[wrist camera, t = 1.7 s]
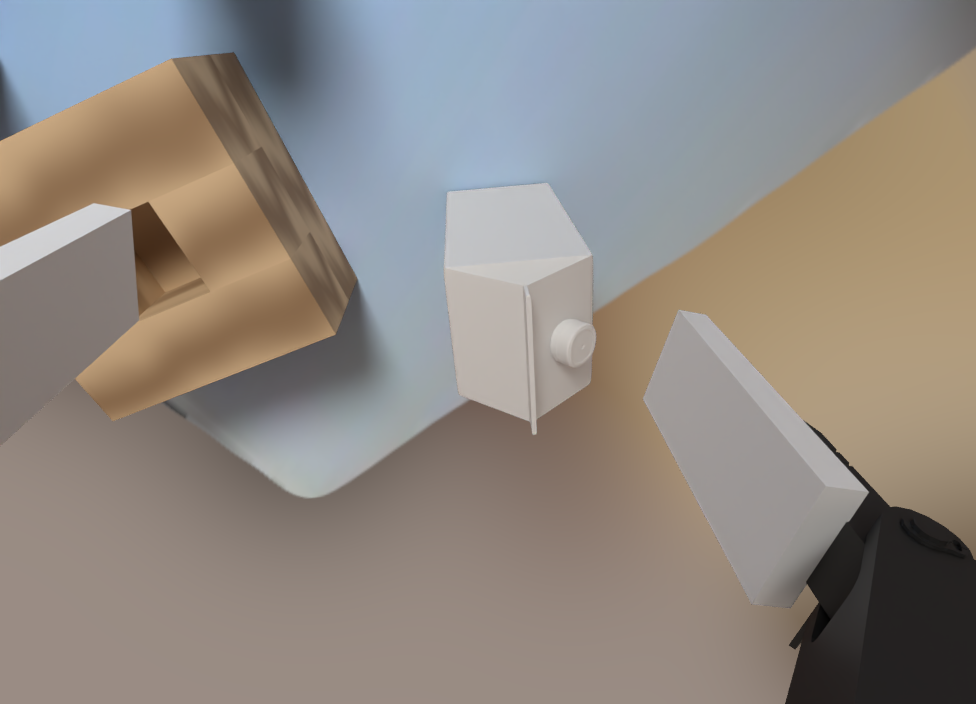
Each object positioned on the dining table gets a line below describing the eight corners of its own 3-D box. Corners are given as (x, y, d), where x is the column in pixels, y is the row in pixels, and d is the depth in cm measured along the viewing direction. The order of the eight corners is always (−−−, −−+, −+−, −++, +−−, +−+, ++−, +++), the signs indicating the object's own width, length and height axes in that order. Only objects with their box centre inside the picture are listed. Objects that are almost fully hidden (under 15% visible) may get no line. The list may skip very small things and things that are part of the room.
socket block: (19, 154, 38) (-96, 187, 30) (234, 52, 35) (171, 58, 27) (172, 353, 45) (112, 421, 37) (357, 278, 43) (335, 334, 35)
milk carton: (456, 285, 44) (458, 442, 27) (446, 190, 40) (441, 303, 24) (550, 277, 44) (610, 428, 27) (548, 181, 40) (615, 287, 24)
